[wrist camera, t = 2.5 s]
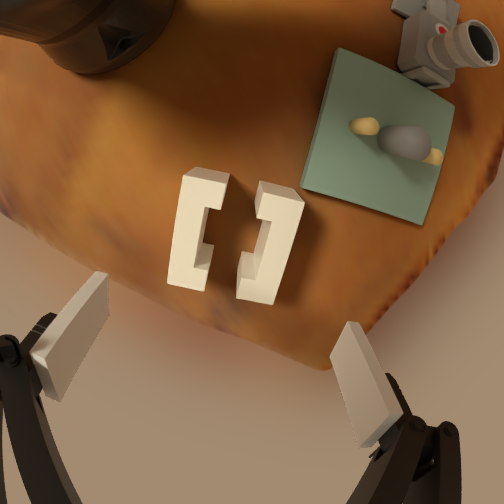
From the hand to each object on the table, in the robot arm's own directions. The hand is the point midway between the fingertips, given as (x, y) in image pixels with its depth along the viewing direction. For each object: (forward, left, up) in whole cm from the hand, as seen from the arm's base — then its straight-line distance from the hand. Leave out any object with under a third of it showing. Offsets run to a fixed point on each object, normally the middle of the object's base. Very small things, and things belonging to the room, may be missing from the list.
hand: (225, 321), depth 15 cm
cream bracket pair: (0, 0, -17) cm, 17 cm away
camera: (+15, +28, -17) cm, 36 cm away
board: (+13, +13, -17) cm, 25 cm away
